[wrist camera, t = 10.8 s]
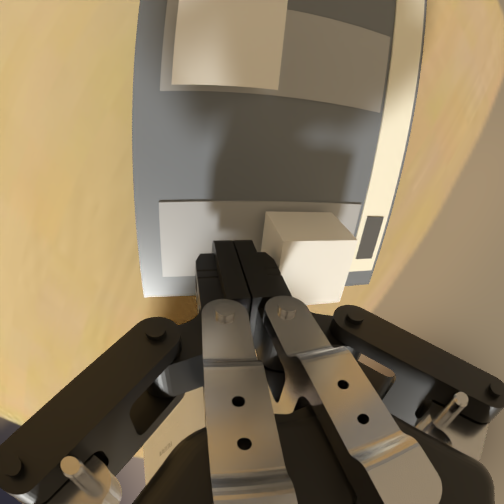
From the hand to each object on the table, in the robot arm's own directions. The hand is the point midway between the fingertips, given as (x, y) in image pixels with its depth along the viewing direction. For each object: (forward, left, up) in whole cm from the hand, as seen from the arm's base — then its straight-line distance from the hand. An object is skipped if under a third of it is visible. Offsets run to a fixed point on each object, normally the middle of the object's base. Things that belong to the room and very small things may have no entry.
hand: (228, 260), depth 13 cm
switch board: (-8, +2, -4) cm, 9 cm away
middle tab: (-8, -1, -1) cm, 8 cm away
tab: (0, +3, -1) cm, 3 cm away
